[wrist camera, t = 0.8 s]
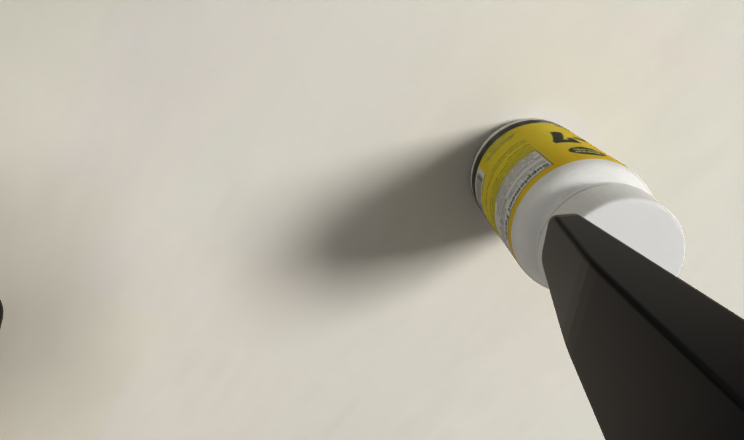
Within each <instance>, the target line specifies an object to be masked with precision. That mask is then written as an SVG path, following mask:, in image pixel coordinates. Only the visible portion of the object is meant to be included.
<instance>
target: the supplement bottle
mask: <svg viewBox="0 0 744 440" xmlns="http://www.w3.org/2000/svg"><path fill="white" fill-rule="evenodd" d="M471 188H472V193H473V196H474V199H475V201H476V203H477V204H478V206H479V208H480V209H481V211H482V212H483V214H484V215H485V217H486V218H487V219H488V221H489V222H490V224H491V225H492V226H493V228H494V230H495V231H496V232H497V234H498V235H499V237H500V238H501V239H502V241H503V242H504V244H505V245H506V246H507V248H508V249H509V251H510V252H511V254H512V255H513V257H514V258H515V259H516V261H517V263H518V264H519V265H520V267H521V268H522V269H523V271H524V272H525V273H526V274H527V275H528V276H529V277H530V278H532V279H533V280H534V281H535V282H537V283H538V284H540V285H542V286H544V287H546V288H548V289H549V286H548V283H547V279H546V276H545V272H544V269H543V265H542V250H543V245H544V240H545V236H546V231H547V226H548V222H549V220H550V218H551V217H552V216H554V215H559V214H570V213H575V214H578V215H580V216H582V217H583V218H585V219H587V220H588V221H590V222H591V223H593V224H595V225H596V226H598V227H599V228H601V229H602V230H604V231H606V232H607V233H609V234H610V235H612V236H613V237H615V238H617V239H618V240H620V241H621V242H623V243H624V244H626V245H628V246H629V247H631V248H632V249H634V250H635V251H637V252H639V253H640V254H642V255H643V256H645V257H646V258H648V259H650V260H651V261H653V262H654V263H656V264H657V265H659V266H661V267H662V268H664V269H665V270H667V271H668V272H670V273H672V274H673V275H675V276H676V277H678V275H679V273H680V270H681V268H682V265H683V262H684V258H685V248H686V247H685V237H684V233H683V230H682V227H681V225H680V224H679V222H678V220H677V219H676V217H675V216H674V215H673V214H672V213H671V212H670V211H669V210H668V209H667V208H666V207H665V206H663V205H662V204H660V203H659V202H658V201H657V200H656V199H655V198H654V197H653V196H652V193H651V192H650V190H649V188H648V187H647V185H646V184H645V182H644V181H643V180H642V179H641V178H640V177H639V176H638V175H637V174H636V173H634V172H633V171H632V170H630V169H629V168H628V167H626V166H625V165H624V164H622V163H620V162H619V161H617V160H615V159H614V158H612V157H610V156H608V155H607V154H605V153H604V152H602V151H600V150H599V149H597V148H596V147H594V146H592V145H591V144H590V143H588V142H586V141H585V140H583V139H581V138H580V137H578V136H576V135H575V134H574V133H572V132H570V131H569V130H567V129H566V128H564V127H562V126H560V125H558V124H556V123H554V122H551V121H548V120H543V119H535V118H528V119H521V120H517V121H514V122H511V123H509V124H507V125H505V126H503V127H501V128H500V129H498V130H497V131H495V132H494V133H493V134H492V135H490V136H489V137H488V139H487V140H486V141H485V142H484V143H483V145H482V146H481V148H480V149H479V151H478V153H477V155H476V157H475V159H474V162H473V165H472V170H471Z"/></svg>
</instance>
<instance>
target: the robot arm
mask: <svg viewBox="0 0 744 440" xmlns="http://www.w3.org/2000/svg"><path fill="white" fill-rule="evenodd" d="M542 265H543V269H544V272H545V276H546V279H547V283H548V286H549V290H550V293H551V297H552V300H553V303H554V307H555V310H556V314H557V317H558V321H559V324H560V328H561V331H562V335H563V338H564V341H565V344H566V347H567V349H568V352H569V354H570V357H571V360H572V362H573V364H574V367H575V369H576V371H577V374H578V376H579V378H580V381H581V383H582V386H583V388H584V390H585V393H586V395H587V397H588V400H589V402H590V404H591V407H592V409H593V412H594V414H595V416H596V419H597V421H598V423H599V426H600V428H601V430H602V433H603V435H604V438H605V440H744V319H742V318H741V317H739V316H738V315H736V314H735V313H733V312H731V311H730V310H728V309H727V308H725V307H724V306H722V305H720V304H719V303H717V302H716V301H714V300H713V299H711V298H709V297H708V296H706V295H705V294H703V293H702V292H700V291H698V290H697V289H695V288H694V287H692V286H690V285H689V284H687V283H686V282H684V281H683V280H681V279H679V278H678V277H676V276H675V275H673V274H672V273H670V272H668V271H667V270H665V269H664V268H662V267H661V266H659V265H657V264H656V263H654V262H653V261H651V260H650V259H648V258H646V257H645V256H643V255H642V254H640V253H639V252H637V251H635V250H634V249H632V248H631V247H629V246H628V245H626V244H624V243H623V242H621V241H620V240H618V239H617V238H615V237H613V236H612V235H610V234H609V233H607V232H606V231H604V230H602V229H601V228H599V227H598V226H596V225H595V224H593V223H591V222H590V221H588V220H587V219H585V218H583V217H582V216H580V215H578V214H575V213H570V214H559V215H554V216H552V217H551V218H550V220H549V222H548V226H547V231H546V236H545V240H544V245H543V250H542ZM2 319H3V306H2V302H1V300H0V328H1V323H2Z"/></svg>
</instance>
